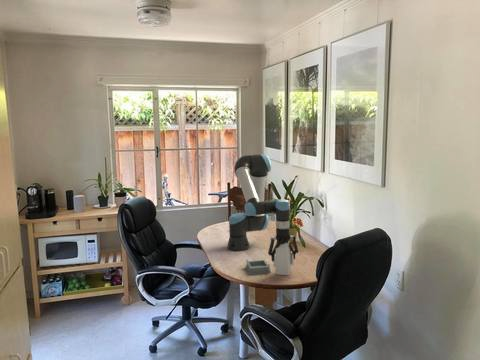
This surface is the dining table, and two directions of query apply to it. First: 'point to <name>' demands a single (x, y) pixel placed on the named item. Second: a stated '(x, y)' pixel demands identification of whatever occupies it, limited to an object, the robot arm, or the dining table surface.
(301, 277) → the dining table surface
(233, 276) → the dining table surface
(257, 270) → the seat block
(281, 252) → the milk carton
